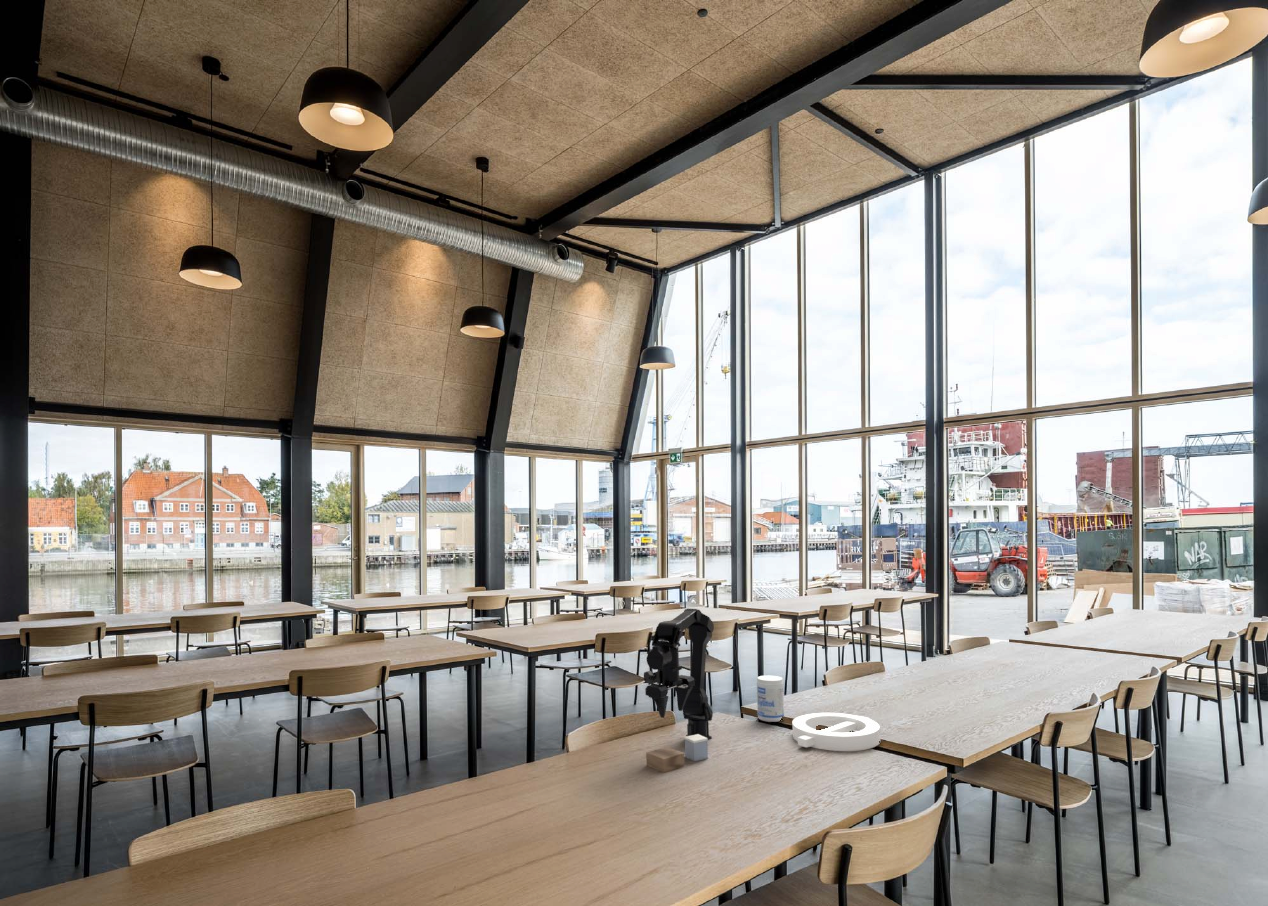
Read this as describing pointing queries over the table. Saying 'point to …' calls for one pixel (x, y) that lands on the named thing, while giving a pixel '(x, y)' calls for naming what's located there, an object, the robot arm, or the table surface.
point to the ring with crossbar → (836, 732)
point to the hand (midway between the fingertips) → (671, 714)
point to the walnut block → (665, 759)
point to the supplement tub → (770, 698)
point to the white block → (696, 747)
